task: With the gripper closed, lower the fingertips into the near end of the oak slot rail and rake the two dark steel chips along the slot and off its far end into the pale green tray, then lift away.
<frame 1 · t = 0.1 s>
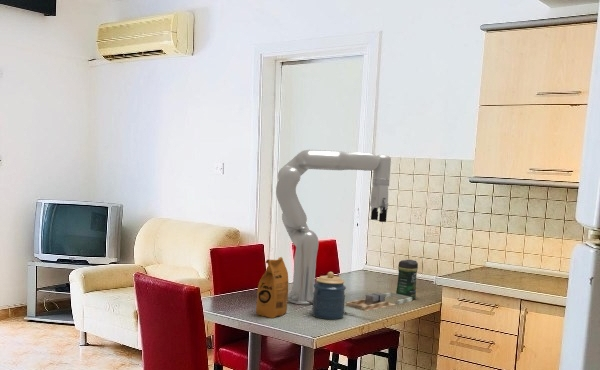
hand: (378, 220, 251), 37 cm above the table, tool pointing down, fingers open, 9 cm apart
chip b: (378, 303, 245), point 1 cm above the table, touching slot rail
chip a: (371, 304, 241), point 1 cm above the table, touching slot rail
coffee jar: (405, 299, 265), on the table
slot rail: (369, 308, 241), on the table
canister: (327, 316, 223), on the table
coffee package: (271, 314, 219), on the table
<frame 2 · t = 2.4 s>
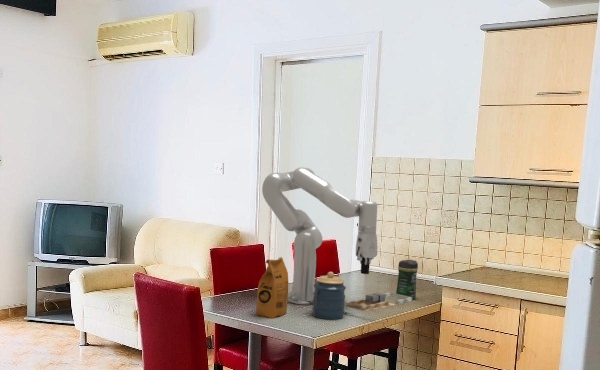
hand: (364, 273, 236), 16 cm above the table, tool pointing down, fingers closed
nothing on the table moved.
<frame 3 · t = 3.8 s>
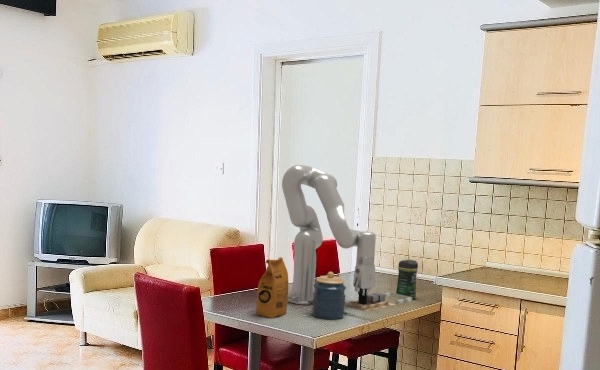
hand: (362, 304, 236), 3 cm above the table, tool pointing down, fingers closed
nothing on the table moved.
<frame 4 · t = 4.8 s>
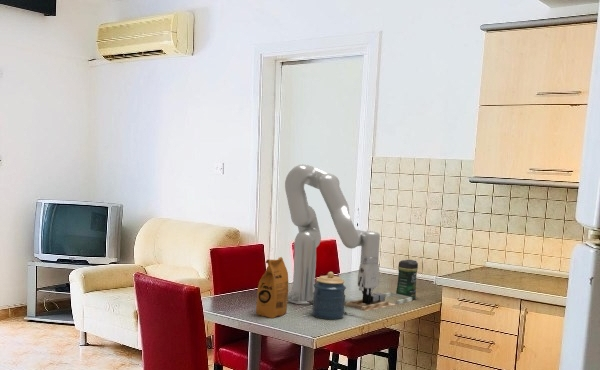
hand: (366, 303, 238), 3 cm above the table, tool pointing down, fingers closed
chip a: (371, 304, 241), point 2 cm above the table, touching gripper
everything else where it was.
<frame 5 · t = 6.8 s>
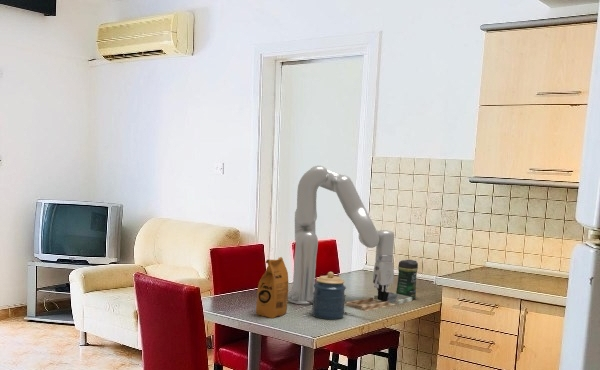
hand: (381, 299, 246), 3 cm above the table, tool pointing down, fingers closed
chip b: (389, 301, 252), point 1 cm above the table, tilted 15°, touching chip a
chip a: (385, 301, 249), point 1 cm above the table, tilted 15°, touching chip b, gripper, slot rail
everything else where it was.
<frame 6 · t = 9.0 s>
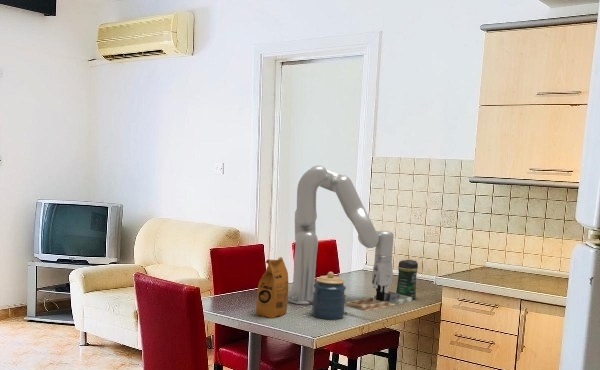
hand: (379, 300, 246), 2 cm above the table, tool pointing down, fingers closed
chip b: (392, 301, 253), point 1 cm above the table, tilted 15°, touching chip a, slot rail
chip a: (387, 302, 250), point 1 cm above the table, tilted 16°, touching chip b, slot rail
everything else where it was.
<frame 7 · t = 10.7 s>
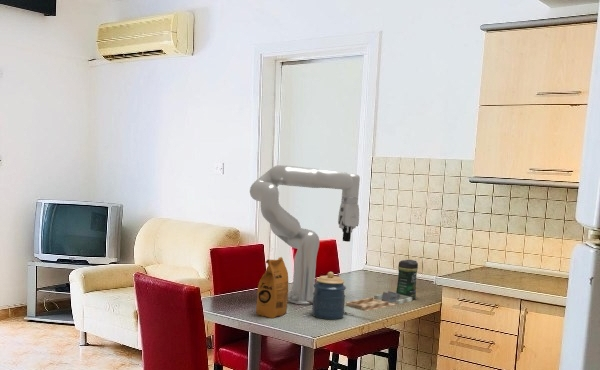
hand: (346, 241, 254), 27 cm above the table, tool pointing down, fingers closed
nothing on the table moved.
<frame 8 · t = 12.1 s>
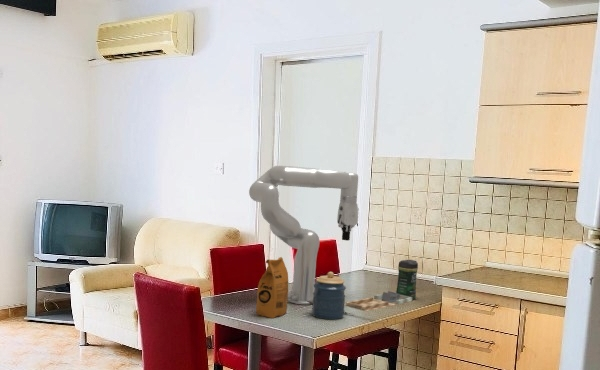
hand: (345, 240, 255), 27 cm above the table, tool pointing down, fingers closed
nothing on the table moved.
at the end: chip a inside the target area (5.1 cm from its centre), point 1.0 cm above the table; chip b inside the target area (0.9 cm from its centre), point 0.9 cm above the table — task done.
